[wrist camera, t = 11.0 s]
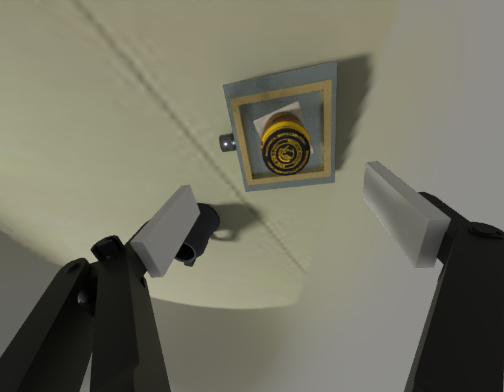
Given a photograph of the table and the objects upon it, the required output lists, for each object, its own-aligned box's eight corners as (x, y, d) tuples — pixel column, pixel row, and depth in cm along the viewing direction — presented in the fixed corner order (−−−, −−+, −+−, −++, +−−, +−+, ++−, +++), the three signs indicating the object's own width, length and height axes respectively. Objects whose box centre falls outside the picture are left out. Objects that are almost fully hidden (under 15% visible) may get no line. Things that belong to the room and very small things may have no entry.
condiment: (298, 100, 29) (309, 110, 19) (313, 152, 33) (330, 185, 23) (252, 120, 32) (240, 139, 21) (272, 167, 35) (269, 203, 25)
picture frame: (213, 88, 34) (200, 89, 29) (328, 63, 31) (340, 59, 25) (235, 182, 43) (228, 197, 37) (328, 171, 39) (336, 186, 34)
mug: (182, 199, 47) (157, 230, 37) (221, 206, 46) (206, 239, 37) (183, 237, 53) (162, 272, 43) (217, 244, 52) (203, 281, 43)
